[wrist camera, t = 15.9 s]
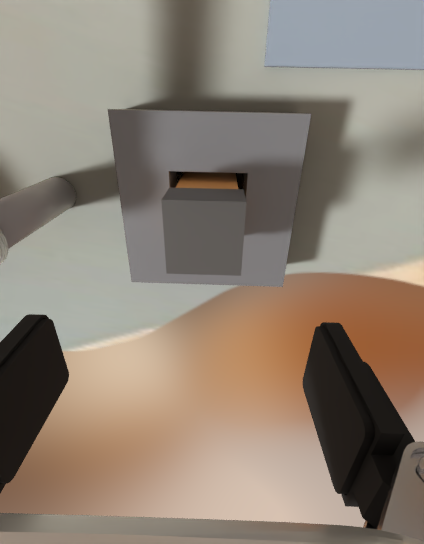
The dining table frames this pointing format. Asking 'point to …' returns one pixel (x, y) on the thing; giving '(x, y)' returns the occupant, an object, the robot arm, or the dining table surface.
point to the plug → (204, 224)
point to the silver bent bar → (3, 247)
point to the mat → (346, 34)
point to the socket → (162, 175)
